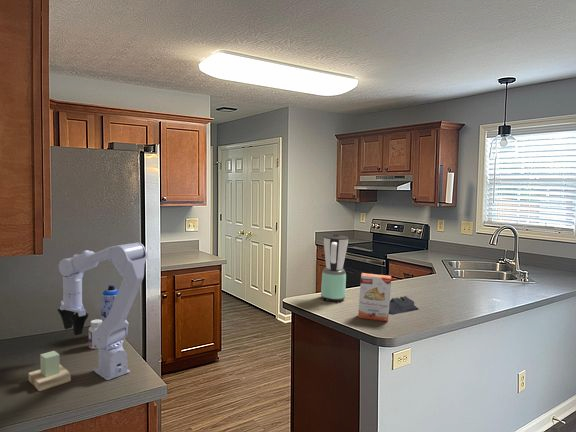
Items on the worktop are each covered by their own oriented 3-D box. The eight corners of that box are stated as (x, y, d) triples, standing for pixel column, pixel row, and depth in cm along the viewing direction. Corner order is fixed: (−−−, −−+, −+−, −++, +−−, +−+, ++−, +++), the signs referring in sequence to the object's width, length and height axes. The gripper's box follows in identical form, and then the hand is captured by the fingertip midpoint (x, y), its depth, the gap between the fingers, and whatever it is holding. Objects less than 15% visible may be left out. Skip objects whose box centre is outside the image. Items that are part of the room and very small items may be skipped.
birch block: (70, 382, 134) (70, 373, 134) (39, 392, 127) (38, 383, 127) (59, 372, 140) (59, 363, 140) (28, 381, 133) (28, 372, 133)
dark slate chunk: (369, 307, 222) (370, 298, 222) (399, 301, 234) (400, 293, 234) (391, 316, 209) (391, 306, 209) (421, 310, 221) (422, 301, 221)
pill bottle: (106, 343, 163) (106, 318, 162) (101, 349, 157) (100, 323, 156) (92, 343, 162) (92, 318, 161) (86, 349, 157) (85, 323, 156)
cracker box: (357, 318, 203) (360, 275, 201) (358, 314, 209) (361, 272, 206) (388, 322, 200) (391, 278, 197) (388, 318, 205) (391, 275, 203)
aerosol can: (97, 334, 171) (97, 285, 169) (117, 329, 177) (117, 282, 175) (105, 340, 166) (105, 289, 163) (125, 335, 171) (125, 286, 169)
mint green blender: (322, 293, 241) (325, 232, 238) (346, 296, 239) (349, 233, 235) (318, 303, 223) (321, 237, 219) (344, 306, 220) (347, 239, 217)
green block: (59, 373, 133) (59, 354, 133) (45, 377, 130) (45, 358, 130) (54, 368, 136) (54, 350, 135) (40, 372, 133) (40, 354, 132)
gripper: (51, 290, 147) (51, 328, 148) (69, 299, 137) (70, 340, 139) (72, 286, 152) (72, 323, 154) (91, 295, 143) (91, 334, 144)
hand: (73, 331), depth 147 cm, fingers open, 7 cm apart
